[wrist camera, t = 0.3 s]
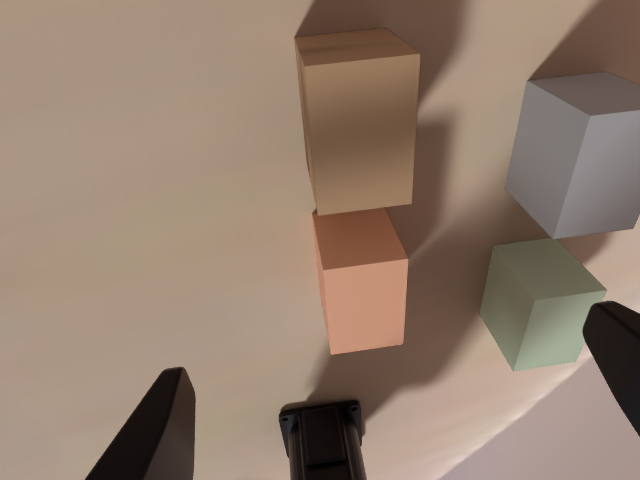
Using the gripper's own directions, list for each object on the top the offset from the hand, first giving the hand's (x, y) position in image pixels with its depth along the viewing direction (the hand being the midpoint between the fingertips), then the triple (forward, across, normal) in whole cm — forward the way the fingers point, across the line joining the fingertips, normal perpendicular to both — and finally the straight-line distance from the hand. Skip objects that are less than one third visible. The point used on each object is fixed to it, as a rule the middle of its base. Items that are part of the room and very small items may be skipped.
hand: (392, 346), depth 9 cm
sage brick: (+14, -12, +12) cm, 22 cm away
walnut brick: (+14, -1, -1) cm, 14 cm away
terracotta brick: (+14, -1, +8) cm, 16 cm away
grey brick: (+14, -12, +2) cm, 19 cm away
